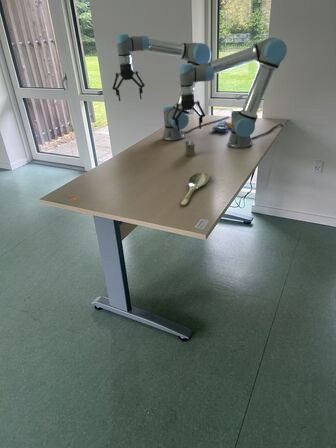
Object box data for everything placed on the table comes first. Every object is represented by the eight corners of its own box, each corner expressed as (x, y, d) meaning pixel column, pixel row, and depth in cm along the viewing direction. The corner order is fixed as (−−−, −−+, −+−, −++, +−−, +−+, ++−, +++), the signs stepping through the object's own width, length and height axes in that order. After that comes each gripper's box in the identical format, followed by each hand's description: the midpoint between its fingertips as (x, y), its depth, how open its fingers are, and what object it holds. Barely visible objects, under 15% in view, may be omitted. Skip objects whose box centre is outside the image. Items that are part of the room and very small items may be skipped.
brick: (185, 153, 219) (185, 141, 215) (193, 152, 219) (192, 140, 215) (187, 156, 213) (186, 145, 209) (194, 155, 213) (194, 144, 209)
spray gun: (237, 125, 262) (219, 125, 268) (237, 120, 259) (219, 119, 266) (229, 134, 246) (210, 133, 253) (229, 128, 244) (210, 127, 250)
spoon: (193, 209, 156) (193, 205, 155) (172, 207, 159) (171, 203, 158) (212, 175, 182) (212, 172, 181) (193, 174, 186) (193, 170, 184)
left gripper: (104, 65, 200) (110, 102, 211) (146, 62, 200) (149, 99, 211) (105, 64, 206) (111, 100, 217) (146, 60, 206) (149, 96, 217)
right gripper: (166, 96, 193) (169, 133, 204) (209, 92, 193) (210, 129, 204) (166, 94, 199) (168, 129, 210) (207, 90, 199) (208, 125, 210)
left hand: (130, 99), depth 214 cm, fingers open, 13 cm apart
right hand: (189, 129), depth 207 cm, fingers open, 13 cm apart
